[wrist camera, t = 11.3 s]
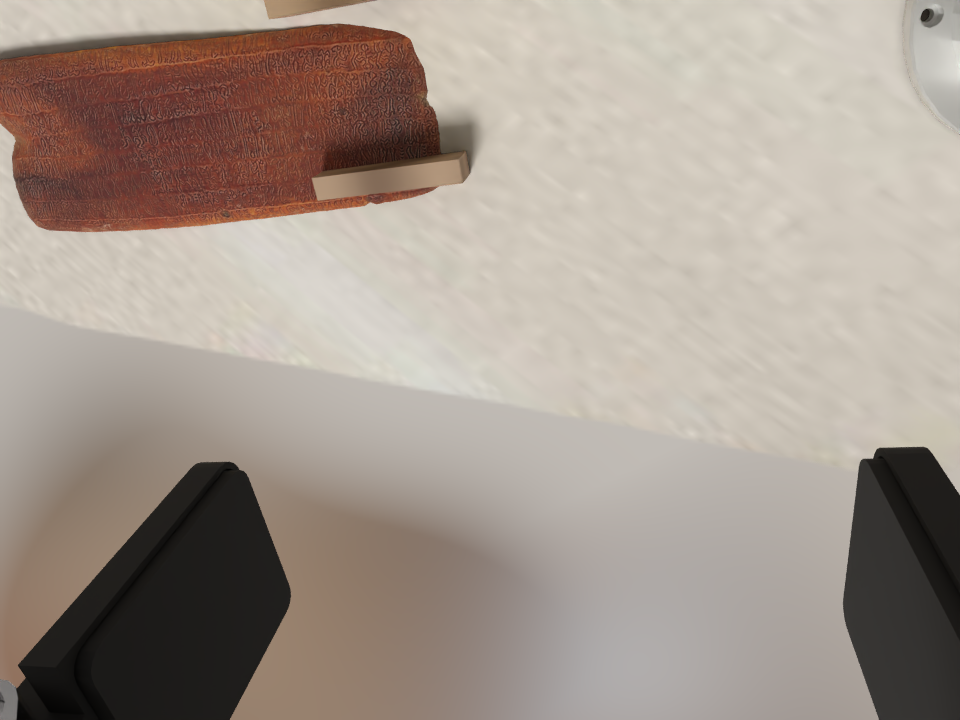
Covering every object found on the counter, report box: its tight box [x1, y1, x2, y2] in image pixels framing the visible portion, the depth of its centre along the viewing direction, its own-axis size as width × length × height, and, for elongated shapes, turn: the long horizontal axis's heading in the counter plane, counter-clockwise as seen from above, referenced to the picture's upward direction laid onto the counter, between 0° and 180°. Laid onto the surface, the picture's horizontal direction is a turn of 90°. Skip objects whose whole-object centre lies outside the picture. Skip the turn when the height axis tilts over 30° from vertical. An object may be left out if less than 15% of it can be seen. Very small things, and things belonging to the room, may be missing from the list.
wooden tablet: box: [0, 24, 441, 232], centre depth 38 cm, size 27×10×2 cm, turn 95°
